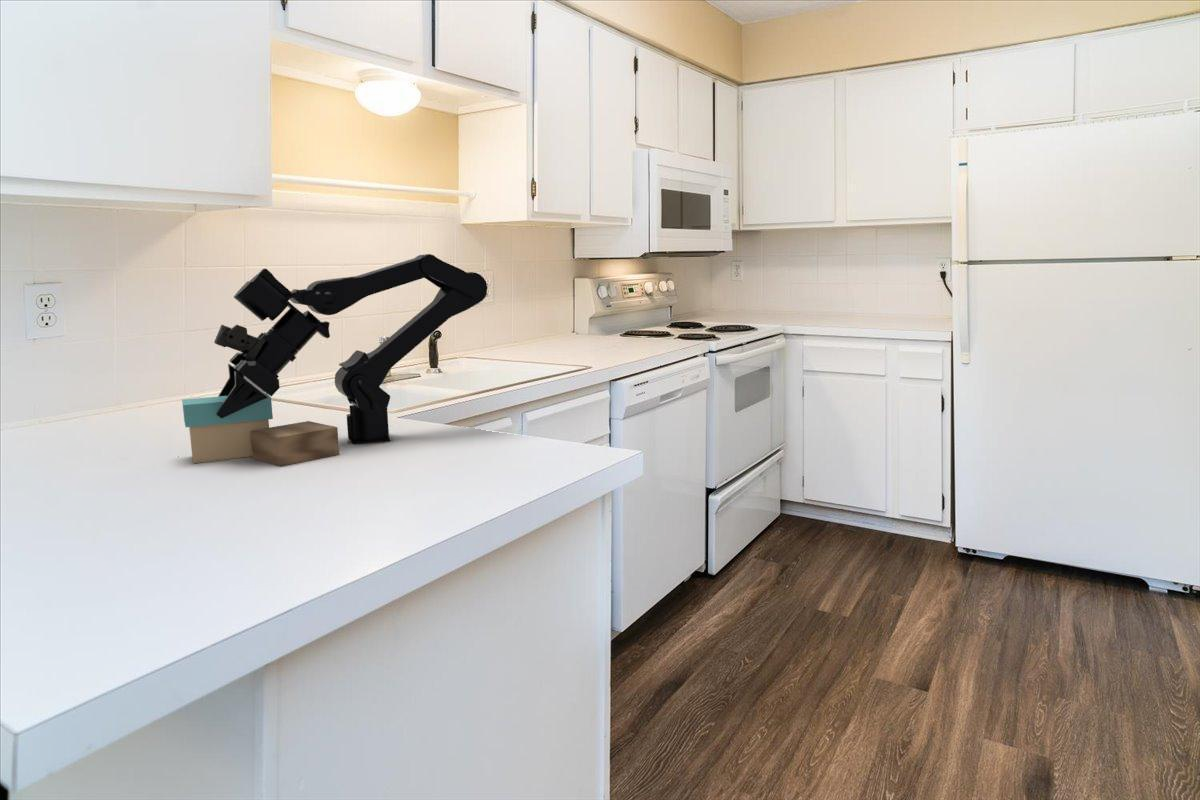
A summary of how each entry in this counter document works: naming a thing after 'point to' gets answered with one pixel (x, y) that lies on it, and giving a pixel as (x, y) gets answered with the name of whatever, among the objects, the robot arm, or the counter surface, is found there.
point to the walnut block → (294, 443)
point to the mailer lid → (206, 409)
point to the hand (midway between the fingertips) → (216, 412)
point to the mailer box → (223, 440)
